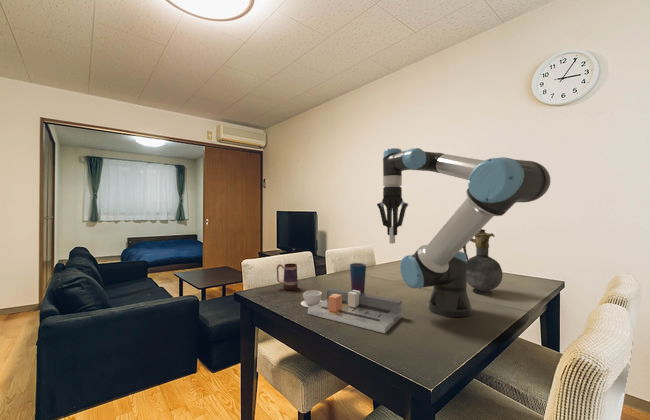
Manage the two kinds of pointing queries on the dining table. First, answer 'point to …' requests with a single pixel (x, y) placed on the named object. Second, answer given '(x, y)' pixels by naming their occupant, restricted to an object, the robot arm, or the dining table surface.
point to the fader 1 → (335, 302)
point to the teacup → (311, 298)
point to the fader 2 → (353, 298)
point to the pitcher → (482, 266)
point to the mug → (289, 276)
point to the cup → (358, 276)
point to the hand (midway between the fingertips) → (392, 243)
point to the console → (361, 311)
